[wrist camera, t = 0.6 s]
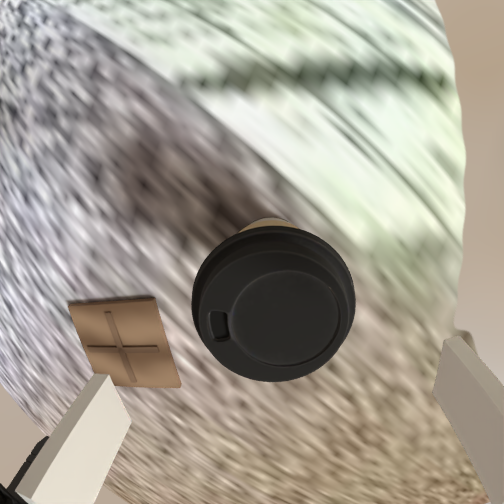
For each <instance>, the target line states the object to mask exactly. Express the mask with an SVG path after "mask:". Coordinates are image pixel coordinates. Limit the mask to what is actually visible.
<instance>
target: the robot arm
mask: <svg viewBox="0 0 504 504" xmlns="http://www.w3.org/2000/svg"><path fill="white" fill-rule="evenodd" d="M432 393H433V395H434V396H435V398H436V400H437V401H438V403H439V405H440V406H441V408H442V410H443V412H444V413H445V415H446V417H447V419H448V420H449V422H450V424H451V426H452V427H453V429H454V431H455V433H456V435H457V436H458V438H459V440H460V442H461V444H462V446H463V447H464V449H465V451H466V453H467V455H468V457H469V459H470V461H471V463H472V465H473V467H474V468H475V470H476V472H477V474H478V476H479V478H480V480H481V483H482V485H483V487H484V489H485V491H486V493H487V495H488V497H489V499H490V501H491V504H504V386H503V384H502V383H501V382H500V381H499V380H498V378H497V377H496V376H495V375H494V374H493V373H492V371H491V370H490V369H489V368H488V367H487V366H486V365H485V363H484V362H483V361H482V360H481V359H480V358H479V357H478V355H477V354H476V353H475V352H474V351H473V350H472V349H471V348H470V347H469V346H468V344H467V343H466V342H465V341H464V340H463V339H462V338H461V337H460V336H456V337H453V338H449V339H446V340H444V342H443V347H442V352H441V357H440V362H439V367H438V371H437V375H436V380H435V384H434V388H433V392H432ZM131 422H132V420H131V419H130V417H129V415H128V413H127V411H126V409H125V407H124V405H123V403H122V401H121V399H120V397H119V395H118V393H117V391H116V389H115V386H114V384H113V382H112V380H111V378H110V375H109V374H94V375H93V376H92V378H91V379H90V380H89V382H88V383H87V384H86V386H85V387H84V389H83V390H82V391H81V393H80V394H79V395H78V397H77V398H76V400H75V401H74V402H73V404H72V405H71V407H70V408H69V410H68V411H67V412H66V414H65V415H64V417H63V418H62V420H61V421H60V422H59V424H58V425H57V427H56V428H55V430H54V431H53V433H52V434H51V436H50V437H49V436H46V437H45V438H43V439H42V440H41V441H39V442H38V443H37V444H36V446H35V447H34V449H33V450H32V452H31V455H29V456H28V458H27V459H26V462H24V464H23V465H22V467H21V468H20V470H19V471H18V473H17V474H16V476H15V477H14V479H13V480H12V482H11V484H10V485H9V486H8V488H7V489H5V487H3V485H2V484H1V483H0V504H94V502H95V500H96V497H97V496H98V493H99V491H100V489H101V487H102V484H103V482H104V480H105V478H106V476H107V473H108V471H109V469H110V467H111V465H112V462H113V460H114V458H115V456H116V454H117V452H118V450H119V447H120V445H121V443H122V441H123V439H124V437H125V435H126V433H127V430H128V428H129V426H130V424H131Z"/></svg>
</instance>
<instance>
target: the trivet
mask: <svg viewBox="0 0 504 504" xmlns="http://www.w3.org/2000/svg"><path fill="white" fill-rule="evenodd" d="M68 308H69V311H70V314H71V317H72V320H73V322H74V325H75V328H76V330H77V333H78V335H79V338H80V340H81V343H82V345H83V348H84V350H85V352H86V355H87V357H88V359H89V362H90V364H91V366H92V368H93V371H94V373H95V374H109V375H110V378H111V380H112V382H113V384H114V386H126V387H149V388H180V387H181V381H180V378H179V375H178V372H177V369H176V366H175V363H174V360H173V357H172V354H171V351H170V348H169V345H168V341H167V338H166V335H165V331H164V328H163V325H162V321H161V318H160V314H159V311H158V307H157V303H156V300H155V298H146V299H133V300H120V301H106V302H91V303H75V304H70V305H69V306H68Z"/></svg>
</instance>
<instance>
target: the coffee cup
mask: <svg viewBox="0 0 504 504" xmlns="http://www.w3.org/2000/svg"><path fill="white" fill-rule="evenodd" d="M191 305H192V317H193V321H194V325H195V328H196V330H197V332H198V335H199V336H200V338H201V340H202V342H203V343H204V344H205V346H206V347H207V348H208V350H209V351H210V352H211V353H212V355H213V356H214V357H215V358H216V359H217V360H218V361H219V362H220V363H221V364H222V365H223V366H225V367H226V368H228V369H229V370H231V371H232V372H234V373H236V374H238V375H241V376H243V377H246V378H249V379H252V380H257V381H263V382H282V381H289V380H293V379H297V378H300V377H303V376H305V375H308V374H310V373H312V372H314V371H315V370H317V369H319V368H320V367H321V366H323V365H324V364H325V363H326V362H328V361H329V360H330V359H331V358H332V357H333V355H334V354H335V353H336V352H337V350H338V349H339V347H340V346H341V344H342V343H343V342H344V340H345V339H346V337H347V335H348V333H349V331H350V329H351V326H352V323H353V320H354V315H355V307H356V299H355V291H354V285H353V280H352V277H351V274H350V272H349V270H348V267H347V266H346V264H345V262H344V261H343V259H342V258H341V256H340V255H339V254H338V253H337V252H336V251H335V250H334V249H333V248H332V247H331V246H330V245H329V244H328V243H326V242H325V241H324V240H322V239H321V238H319V237H317V236H315V235H313V234H311V233H309V232H307V231H304V230H301V229H299V228H297V227H296V226H294V225H293V224H290V223H289V222H287V221H285V220H283V219H280V218H263V219H259V220H257V221H254V222H253V223H251V224H250V225H248V226H247V227H245V228H244V229H242V230H241V231H240V232H239V233H238V234H235V235H233V236H231V237H230V238H228V239H226V240H225V241H224V242H222V243H221V244H220V245H218V246H217V247H216V248H215V249H214V250H213V251H212V252H211V253H210V254H209V255H208V257H207V258H206V259H205V260H204V262H203V264H202V265H201V267H200V269H199V271H198V273H197V276H196V278H195V282H194V285H193V291H192V303H191Z"/></svg>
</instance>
